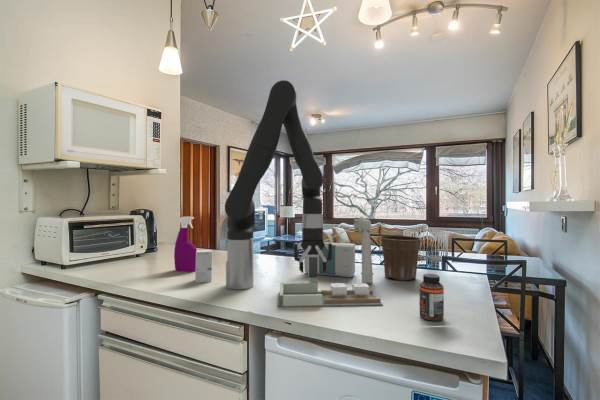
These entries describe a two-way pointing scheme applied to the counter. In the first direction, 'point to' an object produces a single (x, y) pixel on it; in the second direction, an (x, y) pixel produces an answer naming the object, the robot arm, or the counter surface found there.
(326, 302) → the slot board
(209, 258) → the skincare box
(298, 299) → the tray
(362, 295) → the white small cube
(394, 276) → the plant pot
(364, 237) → the white hammer
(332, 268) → the white striped box
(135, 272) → the counter surface
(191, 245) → the spray bottle
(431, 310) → the supplement bottle
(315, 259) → the scraper
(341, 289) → the white cube
